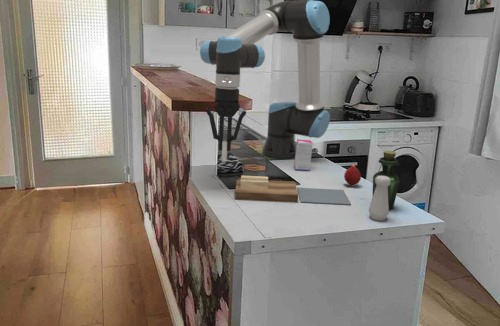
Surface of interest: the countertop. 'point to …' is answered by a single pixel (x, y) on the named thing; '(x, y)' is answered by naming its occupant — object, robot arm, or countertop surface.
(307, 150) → the supplement box
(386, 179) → the salt shaker
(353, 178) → the onion
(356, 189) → the countertop surface
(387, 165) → the potion bottle
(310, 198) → the slate mat
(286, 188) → the board
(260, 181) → the beech block
